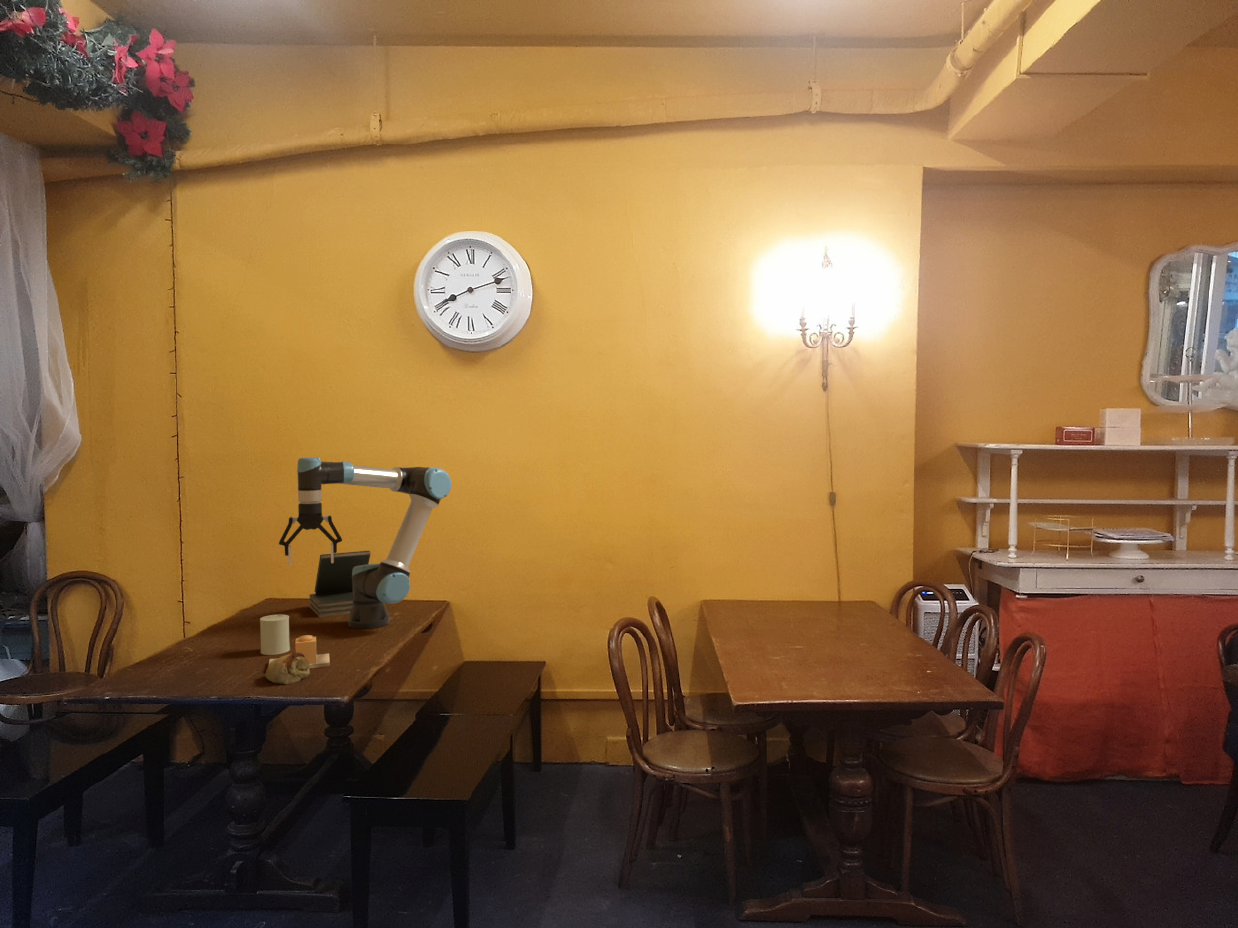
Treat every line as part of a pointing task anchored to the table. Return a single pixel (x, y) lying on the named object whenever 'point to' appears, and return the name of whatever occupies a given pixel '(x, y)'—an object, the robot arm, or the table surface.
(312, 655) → the cube with dome bump
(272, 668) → the pastry
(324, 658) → the flat beige board
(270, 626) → the can
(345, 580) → the dark boxy piece
